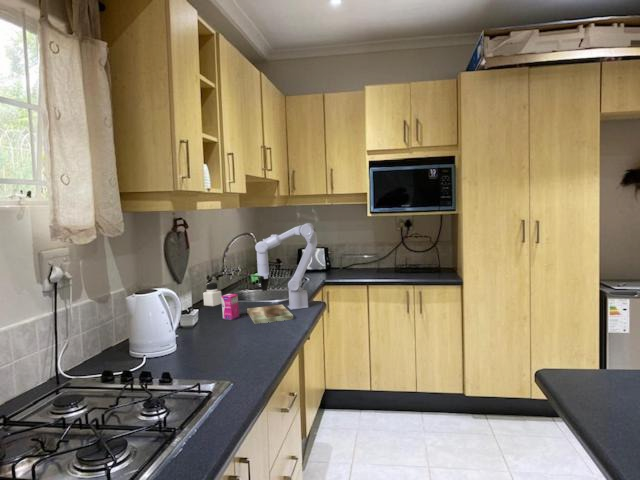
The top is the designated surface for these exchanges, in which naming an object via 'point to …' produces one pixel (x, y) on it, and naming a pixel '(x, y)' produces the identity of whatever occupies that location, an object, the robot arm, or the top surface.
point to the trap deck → (259, 317)
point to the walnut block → (271, 311)
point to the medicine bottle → (212, 295)
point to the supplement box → (230, 306)
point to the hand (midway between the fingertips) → (264, 290)
